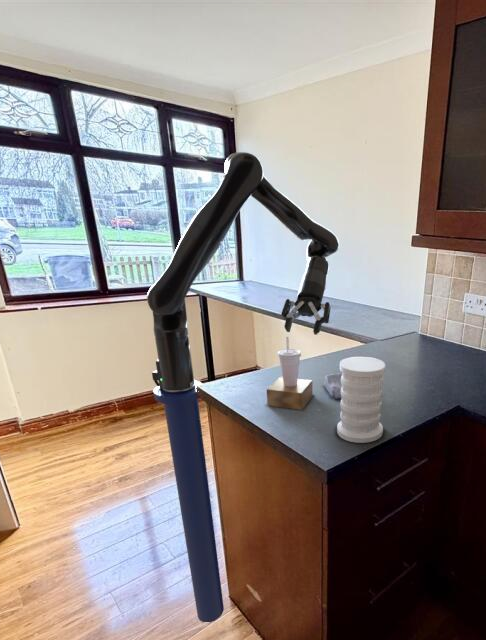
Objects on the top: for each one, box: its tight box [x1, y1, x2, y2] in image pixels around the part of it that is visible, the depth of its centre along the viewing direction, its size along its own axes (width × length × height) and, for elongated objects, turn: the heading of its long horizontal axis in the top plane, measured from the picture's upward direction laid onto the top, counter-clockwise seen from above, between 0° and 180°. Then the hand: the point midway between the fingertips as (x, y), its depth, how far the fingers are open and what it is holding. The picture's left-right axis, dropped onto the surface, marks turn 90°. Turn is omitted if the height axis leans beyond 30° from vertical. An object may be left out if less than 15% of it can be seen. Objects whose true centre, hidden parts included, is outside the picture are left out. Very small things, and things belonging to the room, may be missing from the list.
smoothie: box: [277, 336, 302, 387], centre depth 113 cm, size 6×6×14 cm
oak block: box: [266, 376, 313, 411], centre depth 116 cm, size 10×10×5 cm
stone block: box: [323, 373, 342, 400], centre depth 125 cm, size 12×5×10 cm
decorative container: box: [336, 356, 387, 444], centre depth 99 cm, size 12×12×18 cm
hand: (301, 332), depth 120 cm, fingers open, 8 cm apart
